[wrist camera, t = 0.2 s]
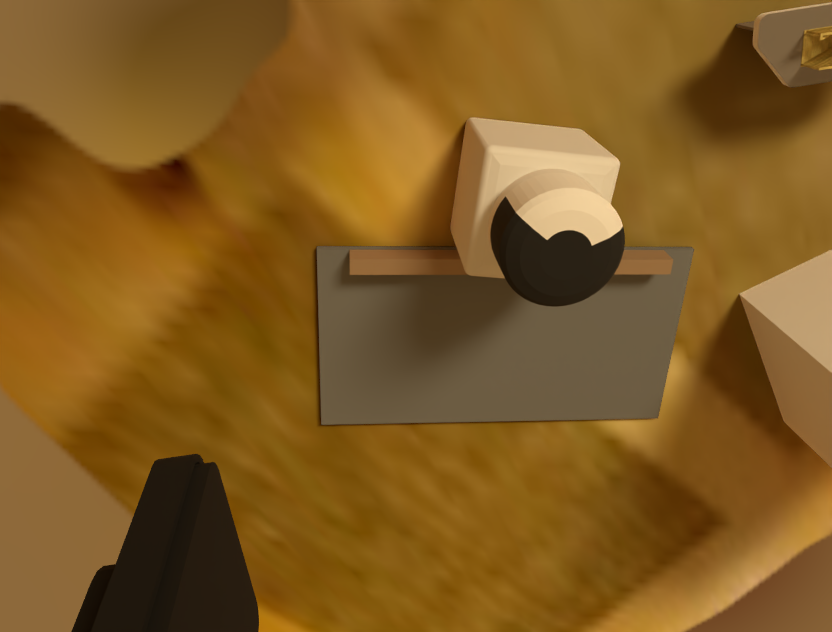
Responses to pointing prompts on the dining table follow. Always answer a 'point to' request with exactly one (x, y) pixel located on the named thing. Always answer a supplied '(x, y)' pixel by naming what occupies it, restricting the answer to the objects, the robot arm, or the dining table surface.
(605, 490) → the dining table surface
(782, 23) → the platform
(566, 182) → the medicine bottle
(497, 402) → the tipping mat
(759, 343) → the milk
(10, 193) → the dining table surface
